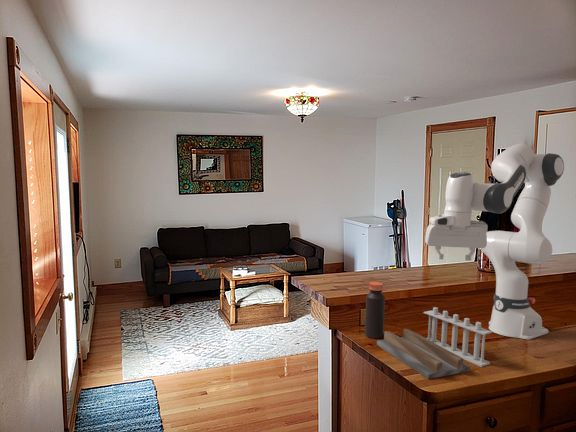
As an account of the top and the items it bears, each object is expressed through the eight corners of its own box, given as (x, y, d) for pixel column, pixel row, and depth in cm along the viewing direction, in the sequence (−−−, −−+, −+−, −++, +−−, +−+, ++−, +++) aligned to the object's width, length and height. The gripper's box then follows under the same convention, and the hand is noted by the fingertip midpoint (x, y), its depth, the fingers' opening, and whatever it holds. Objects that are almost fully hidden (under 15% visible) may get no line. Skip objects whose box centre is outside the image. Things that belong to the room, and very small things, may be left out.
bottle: (371, 340, 168) (373, 286, 165) (361, 333, 174) (363, 281, 172) (387, 337, 170) (389, 284, 168) (376, 331, 176) (378, 280, 174)
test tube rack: (421, 341, 168) (423, 306, 166) (429, 339, 170) (431, 304, 169) (481, 367, 147) (484, 327, 145) (490, 364, 149) (492, 324, 148)
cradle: (413, 339, 169) (414, 327, 169) (469, 371, 143) (470, 357, 143) (376, 344, 163) (377, 332, 163) (428, 378, 137) (428, 364, 137)
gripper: (484, 220, 160) (481, 259, 161) (425, 217, 161) (422, 256, 162) (491, 222, 154) (488, 262, 155) (429, 219, 155) (427, 260, 156)
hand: (454, 259), depth 159 cm, fingers open, 8 cm apart
